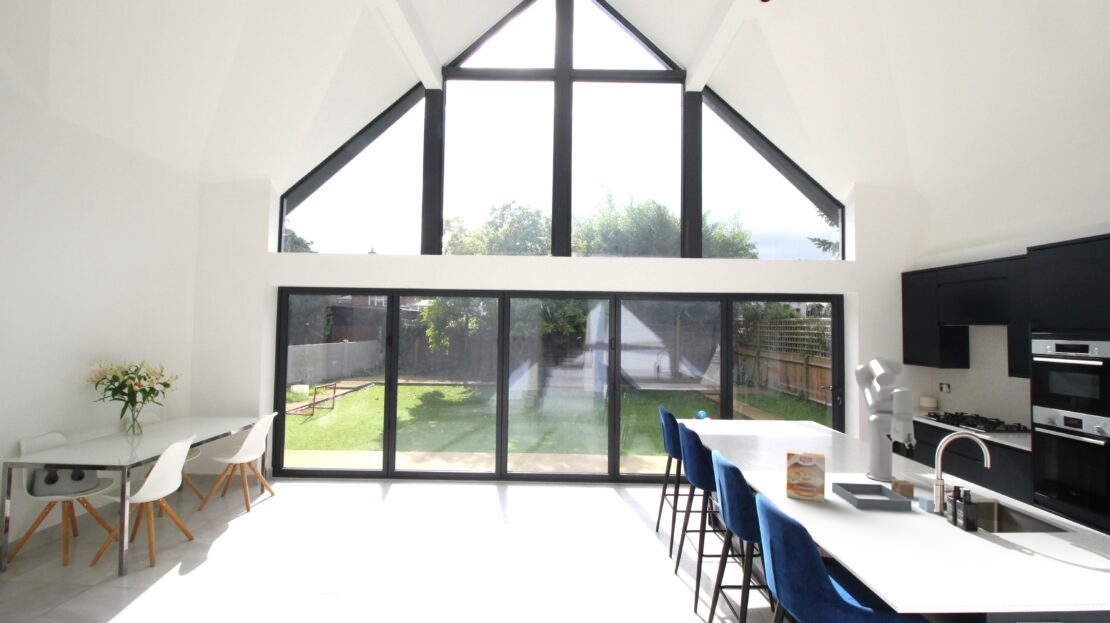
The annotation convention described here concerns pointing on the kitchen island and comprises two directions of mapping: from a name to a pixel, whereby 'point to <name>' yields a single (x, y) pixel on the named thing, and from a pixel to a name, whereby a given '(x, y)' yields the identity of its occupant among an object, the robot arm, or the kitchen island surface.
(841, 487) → the grey square tray
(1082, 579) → the kitchen island surface
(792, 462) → the coffeecake box
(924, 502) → the pale blue box
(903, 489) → the walnut block
